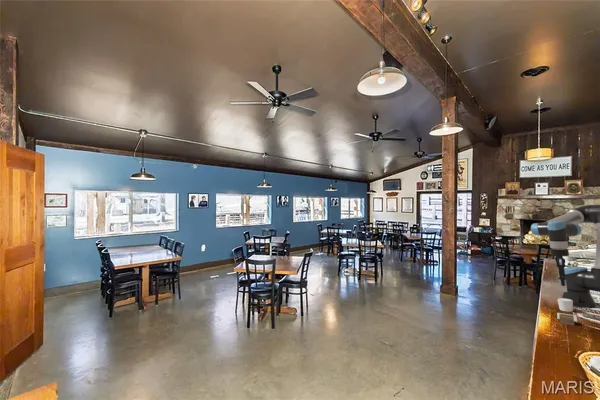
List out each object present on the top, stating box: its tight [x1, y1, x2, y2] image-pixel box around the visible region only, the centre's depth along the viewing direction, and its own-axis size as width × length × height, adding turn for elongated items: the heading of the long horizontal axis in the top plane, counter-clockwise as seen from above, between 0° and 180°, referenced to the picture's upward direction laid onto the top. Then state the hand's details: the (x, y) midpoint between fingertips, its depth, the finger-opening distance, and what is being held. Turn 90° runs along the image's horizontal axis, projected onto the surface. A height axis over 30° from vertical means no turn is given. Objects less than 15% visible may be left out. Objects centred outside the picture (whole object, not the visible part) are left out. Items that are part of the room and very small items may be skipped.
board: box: [556, 312, 578, 322], centre depth 156 cm, size 11×8×1 cm
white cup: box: [557, 297, 574, 313], centre depth 166 cm, size 7×7×7 cm
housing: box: [558, 312, 575, 326], centre depth 149 cm, size 6×6×4 cm
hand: (563, 289), depth 154 cm, fingers open, 6 cm apart
